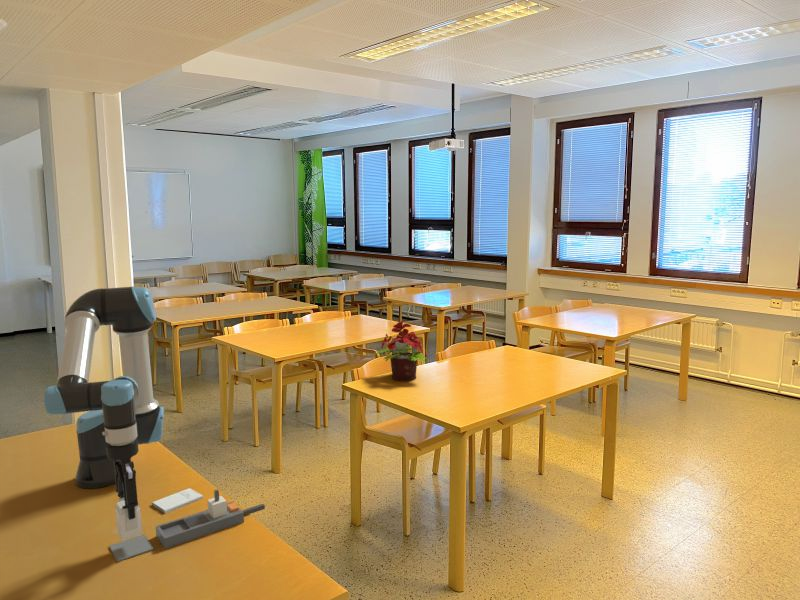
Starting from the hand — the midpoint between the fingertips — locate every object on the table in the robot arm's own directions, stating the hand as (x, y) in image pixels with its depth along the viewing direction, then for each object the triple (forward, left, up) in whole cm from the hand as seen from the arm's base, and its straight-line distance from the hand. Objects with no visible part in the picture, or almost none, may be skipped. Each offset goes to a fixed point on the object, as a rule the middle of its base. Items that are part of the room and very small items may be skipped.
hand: (129, 524), depth 160 cm
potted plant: (-81, +151, -7) cm, 172 cm away
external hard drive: (-19, +18, -8) cm, 27 cm away
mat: (0, 0, -7) cm, 7 cm away
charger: (0, 0, -2) cm, 2 cm away
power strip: (+2, +22, -7) cm, 23 cm away
